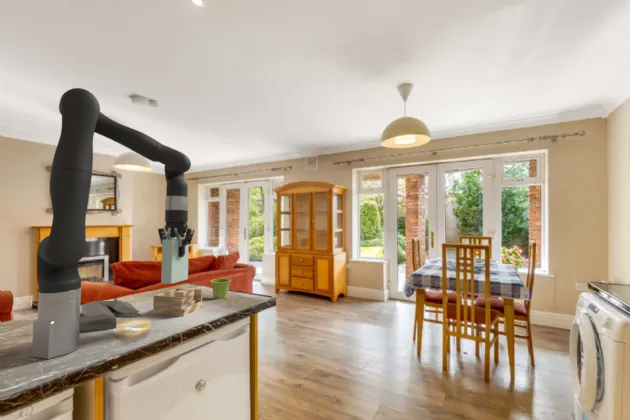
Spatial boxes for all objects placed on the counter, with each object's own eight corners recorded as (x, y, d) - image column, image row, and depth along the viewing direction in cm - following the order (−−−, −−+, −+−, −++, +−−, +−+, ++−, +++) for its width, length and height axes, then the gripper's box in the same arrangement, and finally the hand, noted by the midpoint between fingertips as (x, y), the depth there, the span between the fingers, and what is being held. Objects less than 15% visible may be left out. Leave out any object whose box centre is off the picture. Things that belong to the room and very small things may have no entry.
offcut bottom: (179, 314, 113) (179, 306, 114) (170, 314, 114) (170, 306, 115) (196, 307, 123) (196, 300, 123) (187, 306, 124) (187, 299, 124)
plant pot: (233, 299, 139) (233, 281, 140) (212, 302, 135) (212, 283, 135) (228, 295, 147) (228, 277, 148) (208, 297, 143) (208, 279, 143)
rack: (182, 319, 111) (183, 297, 112) (153, 316, 114) (153, 295, 115) (203, 309, 124) (203, 289, 124) (176, 307, 127) (176, 288, 127)
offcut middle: (181, 306, 114) (181, 299, 114) (171, 305, 115) (171, 299, 115) (193, 301, 122) (193, 294, 122) (184, 300, 123) (184, 294, 123)
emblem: (158, 299, 121) (92, 322, 94) (158, 312, 121) (91, 339, 94) (103, 295, 127) (26, 315, 100) (102, 308, 127) (25, 331, 100)
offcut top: (183, 298, 116) (183, 292, 116) (175, 297, 117) (175, 291, 117) (194, 295, 122) (194, 288, 122) (186, 294, 123) (186, 288, 123)
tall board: (171, 283, 102) (172, 239, 102) (161, 283, 103) (162, 239, 103) (187, 278, 111) (188, 238, 111) (178, 278, 111) (179, 238, 112)
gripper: (152, 208, 106) (150, 257, 105) (187, 208, 103) (186, 258, 102) (166, 209, 113) (165, 255, 112) (200, 209, 110) (199, 256, 109)
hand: (175, 256), depth 107 cm, fingers closed on tall board, 4 cm apart
